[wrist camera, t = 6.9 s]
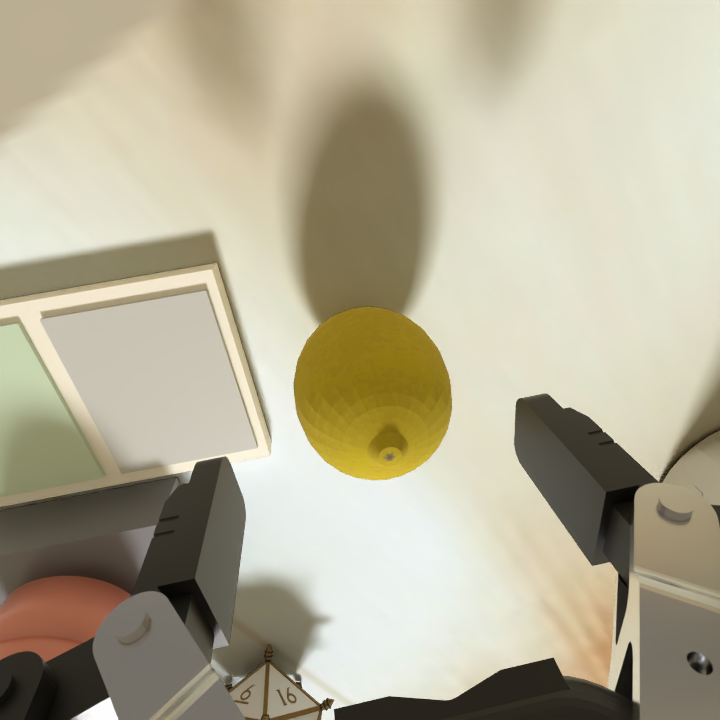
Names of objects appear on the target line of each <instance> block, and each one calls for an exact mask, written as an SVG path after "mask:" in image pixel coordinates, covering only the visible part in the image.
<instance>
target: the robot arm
mask: <svg viewBox="0 0 720 720" xmlns="http://www.w3.org/2000/svg"><path fill="white" fill-rule="evenodd" d="M514 445H515V451H516V454H517V457H518V460H519V462H520V464H521V465H522V467H523V468H524V470H525V471H526V472H527V474H528V475H529V477H530V478H531V479H532V481H533V482H534V484H535V485H536V487H537V488H538V489H539V491H540V492H541V494H542V495H543V497H544V498H545V499H546V501H547V502H548V504H549V505H550V506H551V508H552V509H553V511H554V512H555V514H556V515H557V516H558V518H559V519H560V521H561V522H562V524H563V525H564V526H565V528H566V529H567V531H568V532H569V534H570V535H571V536H572V538H573V539H574V541H575V542H576V543H577V545H578V546H579V548H580V549H581V551H582V552H583V553H584V555H585V556H586V558H587V559H588V561H589V562H590V563H591V565H592V566H594V565H598V564H603V563H607V562H611V564H612V565H613V566H614V568H615V569H616V570H617V574H616V579H615V596H614V618H613V639H612V656H611V666H610V672H609V679H608V688H606V687H604V686H601V685H599V684H596V683H593V682H590V681H587V680H584V679H580V678H575V677H570V676H562V674H561V672H560V670H559V668H558V666H557V664H556V662H555V660H554V658H550V659H546V660H541V661H537V662H533V663H529V664H524V665H520V666H516V667H512V668H507V669H503V670H500V671H498V672H497V673H495V674H494V675H492V676H490V677H489V678H487V679H485V680H484V681H482V682H481V683H479V684H477V685H476V686H474V687H472V688H471V689H469V690H468V691H466V692H464V693H463V694H461V695H460V696H458V697H456V698H454V699H452V700H446V701H443V700H430V699H417V698H404V697H391V696H389V697H384V698H380V699H376V700H372V701H367V702H363V703H359V704H355V705H350V706H346V707H342V708H338V709H334V714H335V720H720V431H718V432H716V433H714V434H712V435H710V436H708V437H707V438H705V439H704V440H702V441H701V442H699V443H698V444H696V445H695V446H694V447H693V448H691V449H690V450H689V451H688V452H687V453H686V454H685V455H683V456H682V457H681V458H680V459H679V460H678V462H677V463H676V464H675V465H674V466H673V467H672V469H671V470H670V471H669V473H668V474H667V476H666V477H665V479H664V481H663V482H662V483H659V482H658V481H657V480H656V479H655V478H654V477H653V476H651V475H650V474H649V473H648V472H647V471H646V470H645V469H644V468H643V467H642V466H641V465H640V464H639V463H638V462H636V461H635V460H634V459H633V458H632V457H631V456H630V455H629V454H628V453H627V452H626V451H625V450H624V449H623V448H621V447H620V446H619V445H618V444H617V443H614V440H613V439H612V438H611V437H610V436H609V435H608V434H606V433H605V432H604V433H603V431H602V429H601V428H600V427H599V426H598V425H597V424H596V423H595V422H594V421H593V420H591V419H590V418H589V417H588V416H586V415H584V414H582V413H580V412H578V411H576V410H574V409H572V408H565V409H563V408H562V407H561V406H560V405H559V404H558V403H557V402H556V401H555V400H554V399H553V398H552V397H551V396H549V395H548V394H540V395H535V396H530V397H525V398H520V399H518V400H517V402H516V414H515V437H514ZM245 520H246V512H245V504H244V499H243V496H242V493H241V491H240V488H239V485H238V483H237V480H236V477H235V475H234V472H233V469H232V466H231V464H230V461H229V459H228V458H227V457H226V456H224V457H219V458H214V459H209V460H204V461H199V462H197V463H196V464H195V466H194V469H193V472H192V476H191V479H190V482H189V483H188V484H183V485H178V487H177V488H176V489H175V490H174V492H173V493H172V494H171V495H170V497H169V498H168V499H167V500H166V501H165V503H164V506H163V509H162V512H161V515H160V517H159V523H157V526H156V528H155V531H154V534H153V535H154V538H152V539H151V542H150V545H149V548H148V550H147V553H146V556H145V559H144V562H143V564H142V567H141V570H140V573H139V575H138V578H137V581H136V584H135V586H134V589H133V592H132V595H131V597H130V598H128V599H126V600H125V601H123V602H122V603H120V604H119V605H118V606H117V607H116V608H114V609H113V610H112V611H111V612H110V613H109V614H108V616H107V617H106V618H105V619H104V621H103V622H102V624H101V625H100V627H99V629H98V630H97V632H96V635H95V637H93V638H91V639H89V640H88V641H86V642H84V643H82V644H80V645H78V646H76V647H74V648H72V649H70V650H68V651H66V652H64V653H62V654H60V655H58V656H56V657H55V658H53V659H51V660H49V661H47V662H45V661H44V660H43V659H42V658H41V657H40V656H39V655H38V654H37V653H35V652H31V651H23V652H18V653H15V654H12V655H10V656H7V657H5V658H3V659H1V660H0V720H246V719H245V717H244V716H243V714H242V713H241V711H240V710H239V708H238V706H237V705H236V703H235V702H234V700H233V699H232V697H231V695H230V694H229V692H228V691H227V689H226V688H225V686H224V684H223V683H222V681H221V680H220V678H219V677H218V675H217V674H216V672H215V671H214V669H213V668H212V667H211V666H210V662H211V656H212V650H213V649H216V648H220V647H224V646H229V643H230V636H231V628H232V620H233V613H234V605H235V597H236V590H237V582H238V575H239V567H240V559H241V552H242V544H243V536H244V529H245Z"/></svg>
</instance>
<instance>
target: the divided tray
mask: <svg viewBox="0 0 720 720" xmlns="http://www.w3.org/2000/svg"><path fill="white" fill-rule="evenodd" d="M271 443H272V442H271V439H270V436H269V432H268V429H267V426H266V422H265V419H264V416H263V413H262V409H261V406H260V403H259V399H258V396H257V393H256V390H255V386H254V383H253V380H252V376H251V373H250V370H249V367H248V363H247V360H246V357H245V353H244V350H243V347H242V344H241V340H240V337H239V334H238V330H237V327H236V324H235V321H234V317H233V314H232V311H231V307H230V304H229V301H228V298H227V294H226V291H225V288H224V284H223V281H222V278H221V275H220V271H219V268H218V265H217V263H213V264H207V265H201V266H195V267H190V268H184V269H178V270H172V271H166V272H161V273H155V274H149V275H143V276H137V277H132V278H126V279H120V280H114V281H108V282H103V283H97V284H91V285H85V286H79V287H74V288H68V289H62V290H56V291H50V292H45V293H39V294H33V295H27V296H21V297H16V298H10V299H4V300H0V507H3V506H9V505H14V504H19V503H24V502H30V501H35V500H40V499H45V498H51V497H56V496H61V495H66V494H71V493H77V492H82V491H87V490H92V489H98V488H103V487H108V486H113V485H119V484H124V483H129V482H134V481H140V480H145V479H150V478H155V477H161V476H166V475H171V474H176V473H182V472H187V471H192V470H193V469H194V466H195V464H196V463H197V462H199V461H204V460H209V459H214V458H219V457H224V456H226V457H227V458H228V459H229V461H230V463H234V462H239V461H245V460H250V459H255V458H260V457H266V456H270V452H271Z"/></svg>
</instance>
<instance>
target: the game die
mask: <svg viewBox="0 0 720 720" xmlns="http://www.w3.org/2000/svg"><path fill="white" fill-rule="evenodd" d="M264 652H265V655H264V657H265V662H264V663H262V664H261V665H260V666H259V667H257V668H256V669H255V670H254V671H252V672H251V673H250V674H249V675H247V676H246V677H245V678H244V679H243V680H241V681H240V682H239V683H238V684H236V685H235V686H234V687H232V684H230V685H228V684H226V685H225V688H226V689H227V691H228V692H229V694H230V695H231V697H232V699H233V700H234V702H235V703H236V705H237V706H238V708H239V710H240V711H241V713H242V714H243V716H244V717H245V719H246V720H321V715H322V711H323V710H326V711H327V709H329V708H330V709H331V705H332V703H333V702H334V700H333V699H328V698H327V699H326V700H324V701H323V703H322V704H319V703H318V702H317V701H316V700H315V699H314V698H312V697H311V696H310V695H309V694H308V693H307V692H306V691H304V690H303V689H302V686H301V682H296V683H295V682H294V681H293V680H292V679H291V678H289V677H288V676H287V675H286V674H285V673H284V672H282V671H281V670H280V669H279V668H278V667H277V666H276V665H274V664H273V663H272V662H271V657H272V656H273V655H272V652H273V651H272V649H271V647H270V644H269V646H268V648H267V649H266V651H264Z"/></svg>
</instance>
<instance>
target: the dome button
mask: <svg viewBox="0 0 720 720" xmlns="http://www.w3.org/2000/svg"><path fill="white" fill-rule="evenodd" d="M130 597H131V595H130V594H129V593H128V592H126V591H124V590H123V589H121V588H119V587H117V586H115V585H113V584H110V583H107V582H105V581H101V580H97V579H93V578H88V577H81V576H53V577H46V578H41V579H37V580H34V581H31V582H28V583H26V584H24V585H22V586H20V587H18V588H17V589H15V590H14V591H13V592H12V593H10V594H9V595H8V597H7V598H6V599H5V601H4V602H3V604H2V605H1V607H0V660H1V659H3V658H5V657H7V656H10V655H12V654H15V653H18V652H23V651H31V652H35V653H37V654H38V655H39V656H40V657H41V658H42V659H43V660H44V661H45V662H47V661H49V660H51V659H53V658H55V657H56V656H58V655H60V654H62V653H64V652H66V651H68V650H70V649H72V648H74V647H76V646H78V645H80V644H82V643H84V642H86V641H88V640H89V639H91V638H93V637H95V635H96V632H97V630H98V629H99V627H100V625H101V624H102V622H103V621H104V619H105V618H106V617H107V616H108V614H109V613H110V612H111V611H112V610H113V609H114V608H116V607H117V606H118V605H119V604H120V603H122V602H123V601H125V600H126V599H128V598H130Z"/></svg>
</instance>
